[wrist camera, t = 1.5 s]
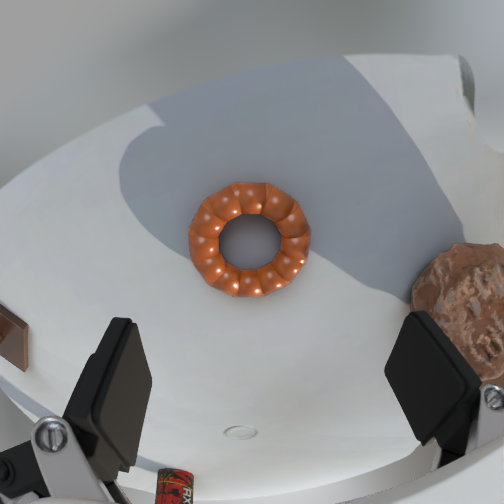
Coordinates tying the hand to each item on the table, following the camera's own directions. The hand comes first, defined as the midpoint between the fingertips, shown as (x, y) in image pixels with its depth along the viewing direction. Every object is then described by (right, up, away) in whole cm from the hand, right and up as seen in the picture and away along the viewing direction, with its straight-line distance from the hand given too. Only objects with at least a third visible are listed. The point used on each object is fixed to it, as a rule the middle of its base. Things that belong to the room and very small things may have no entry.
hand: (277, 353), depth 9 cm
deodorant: (-13, -33, +25) cm, 44 cm away
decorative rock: (+17, 0, +13) cm, 21 cm away
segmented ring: (-1, +4, +8) cm, 9 cm away
